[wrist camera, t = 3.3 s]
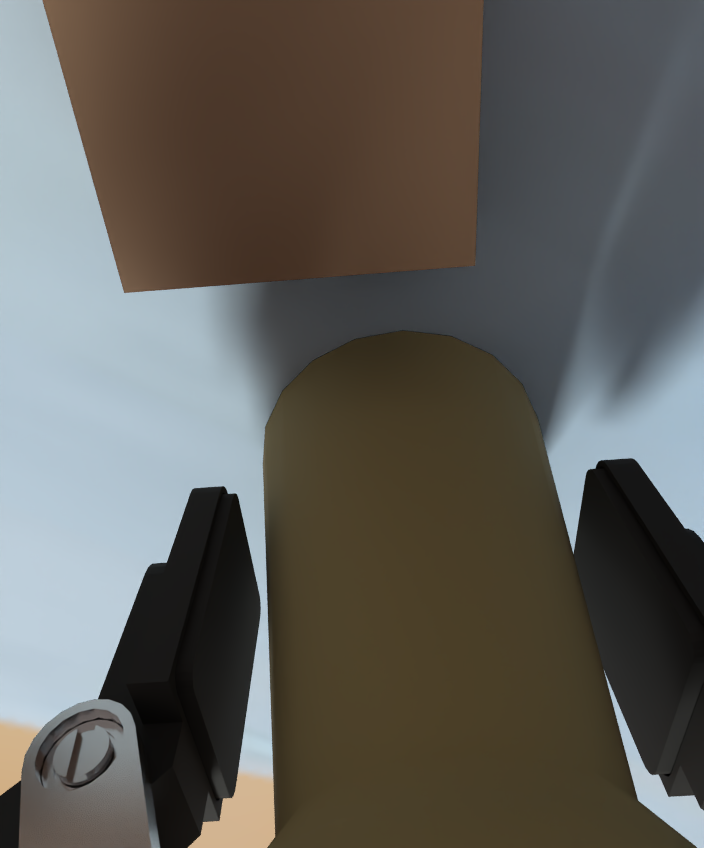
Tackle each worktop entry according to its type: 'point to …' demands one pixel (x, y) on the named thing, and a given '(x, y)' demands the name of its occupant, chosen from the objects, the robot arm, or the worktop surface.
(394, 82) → the notched board
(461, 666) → the cork
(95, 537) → the worktop surface
